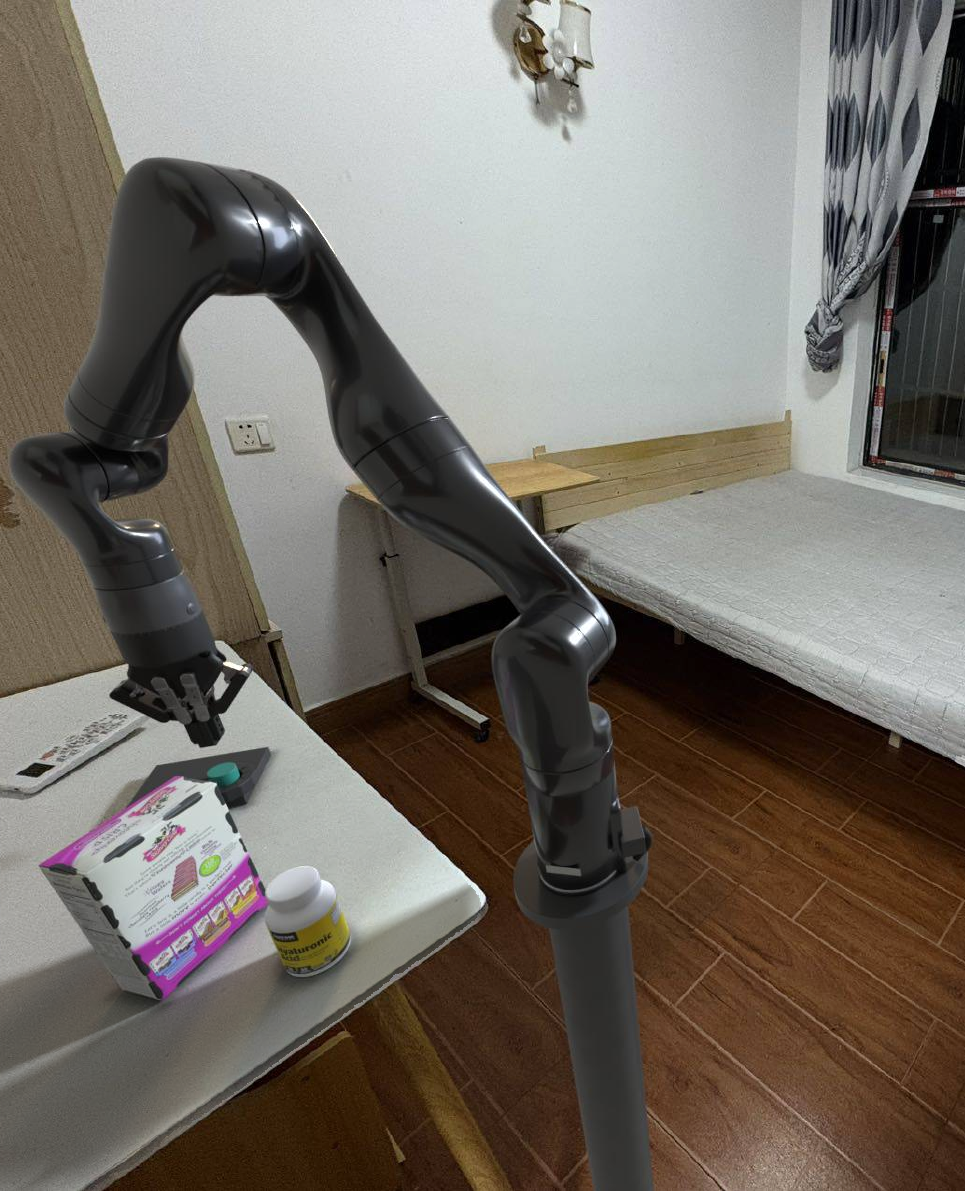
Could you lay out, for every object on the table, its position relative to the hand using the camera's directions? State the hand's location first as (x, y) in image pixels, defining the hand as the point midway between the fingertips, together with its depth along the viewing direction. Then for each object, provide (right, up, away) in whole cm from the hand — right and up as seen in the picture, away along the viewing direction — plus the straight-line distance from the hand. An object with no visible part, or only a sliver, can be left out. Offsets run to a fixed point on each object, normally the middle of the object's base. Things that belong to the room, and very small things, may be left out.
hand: (211, 742), depth 78 cm
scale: (-5, -7, +5) cm, 10 cm away
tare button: (0, -5, +2) cm, 6 cm away
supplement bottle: (+24, -18, -14) cm, 33 cm away
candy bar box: (+12, -17, -14) cm, 25 cm away
